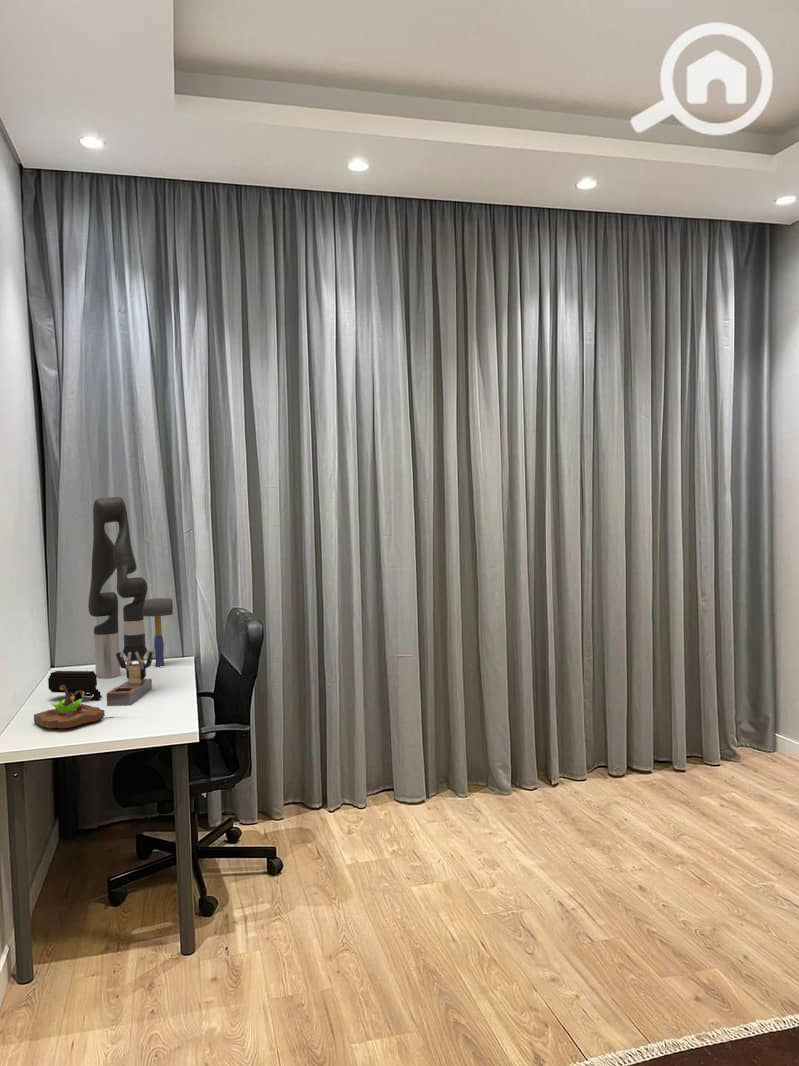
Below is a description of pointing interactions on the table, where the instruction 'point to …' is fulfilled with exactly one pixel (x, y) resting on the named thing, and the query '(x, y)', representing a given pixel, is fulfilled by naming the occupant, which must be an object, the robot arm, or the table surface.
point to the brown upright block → (135, 674)
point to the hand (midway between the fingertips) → (136, 679)
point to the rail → (128, 693)
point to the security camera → (75, 683)
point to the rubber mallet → (158, 623)
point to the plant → (68, 713)
